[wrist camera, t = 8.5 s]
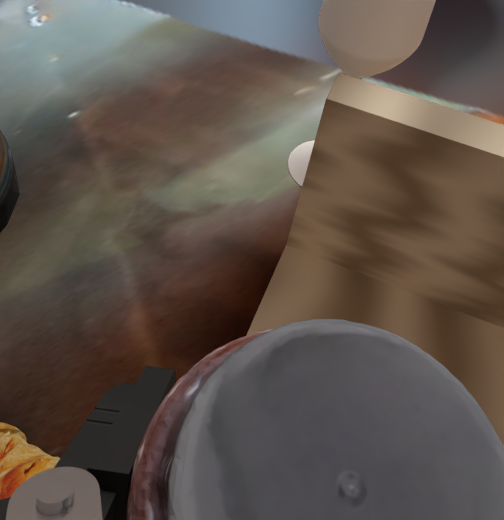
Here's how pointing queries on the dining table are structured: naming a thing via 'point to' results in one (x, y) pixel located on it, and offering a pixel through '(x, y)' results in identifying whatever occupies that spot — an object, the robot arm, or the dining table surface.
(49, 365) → the dining table surface
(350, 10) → the champagne flute
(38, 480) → the robot arm
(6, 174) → the beer stein
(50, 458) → the croissant
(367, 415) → the supplement bottle
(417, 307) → the board
